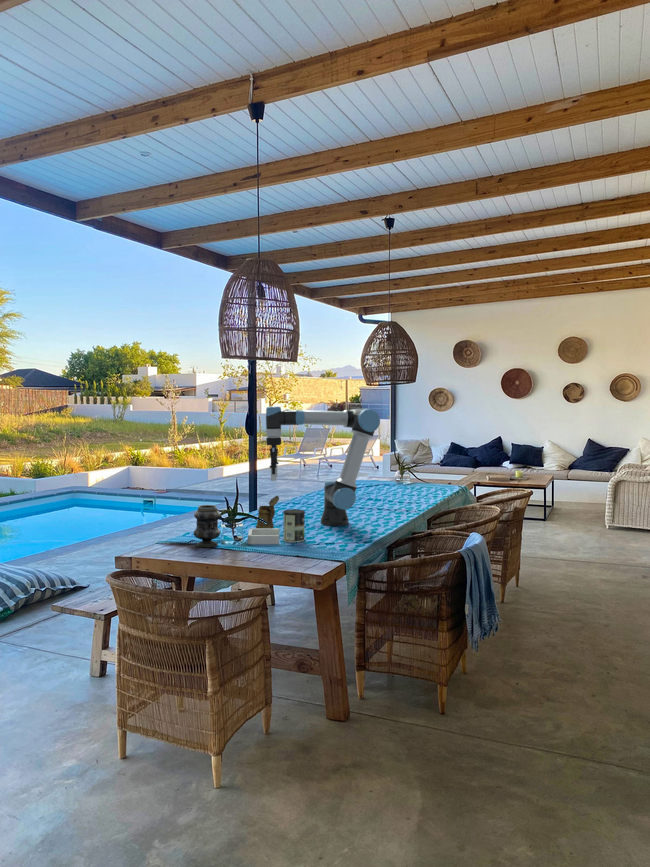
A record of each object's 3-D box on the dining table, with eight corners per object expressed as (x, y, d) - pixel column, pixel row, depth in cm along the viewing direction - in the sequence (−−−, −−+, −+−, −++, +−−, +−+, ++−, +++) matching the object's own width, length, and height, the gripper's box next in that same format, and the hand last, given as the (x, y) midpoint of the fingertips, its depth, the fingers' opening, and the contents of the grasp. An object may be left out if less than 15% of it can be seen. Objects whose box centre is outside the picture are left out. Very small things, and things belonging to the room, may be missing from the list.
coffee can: (304, 537, 301) (304, 509, 300) (304, 542, 291) (305, 513, 290) (283, 537, 301) (283, 509, 300) (282, 542, 290) (283, 513, 290)
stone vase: (224, 546, 282) (224, 507, 281) (198, 549, 276) (198, 509, 275) (215, 541, 292) (215, 503, 291) (190, 543, 286) (190, 505, 285)
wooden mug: (270, 531, 314) (271, 496, 313) (252, 527, 323) (252, 493, 322) (283, 529, 321) (283, 494, 320) (264, 525, 329) (265, 491, 328)
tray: (279, 536, 303) (279, 528, 303) (279, 544, 287) (279, 535, 287) (249, 536, 302) (249, 528, 302) (247, 544, 286) (247, 535, 286)
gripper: (267, 435, 325) (268, 475, 326) (264, 438, 300) (265, 482, 301) (281, 435, 325) (282, 475, 327) (280, 438, 300) (281, 482, 302)
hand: (274, 478), depth 314 cm, fingers open, 13 cm apart
